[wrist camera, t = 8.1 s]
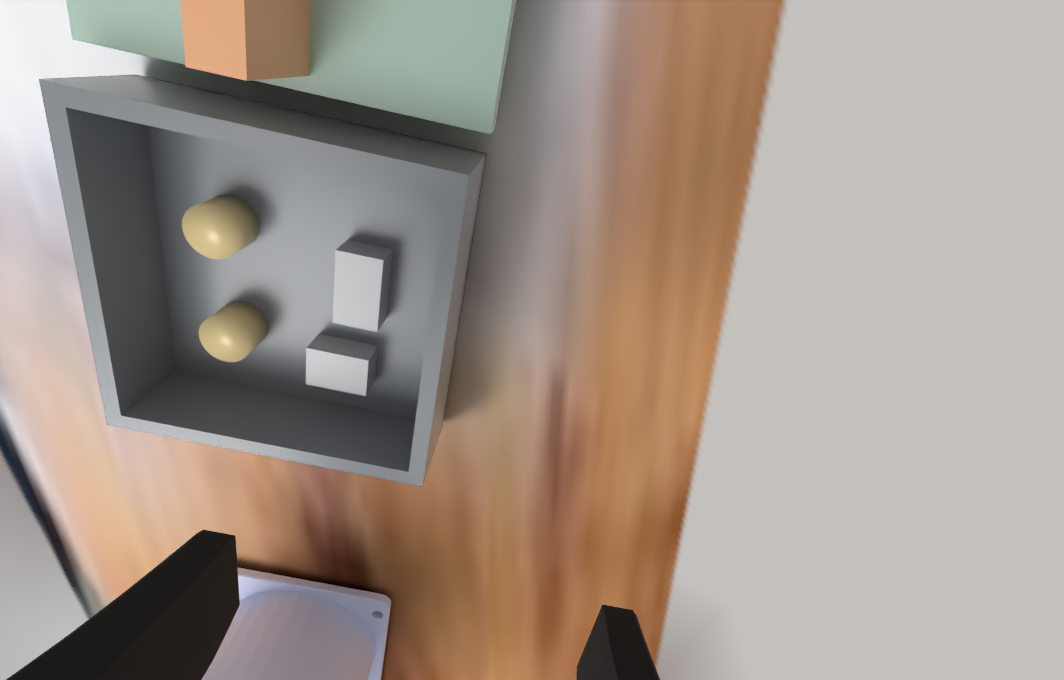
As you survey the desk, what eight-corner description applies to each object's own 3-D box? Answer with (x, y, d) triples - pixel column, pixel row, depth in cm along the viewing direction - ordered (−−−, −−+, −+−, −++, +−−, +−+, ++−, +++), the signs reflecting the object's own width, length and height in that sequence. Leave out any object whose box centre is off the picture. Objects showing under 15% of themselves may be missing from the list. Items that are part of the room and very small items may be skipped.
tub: (442, 426, 20) (422, 486, 18) (171, 372, 20) (106, 425, 17) (486, 153, 16) (469, 175, 13) (136, 74, 15) (38, 79, 12)
